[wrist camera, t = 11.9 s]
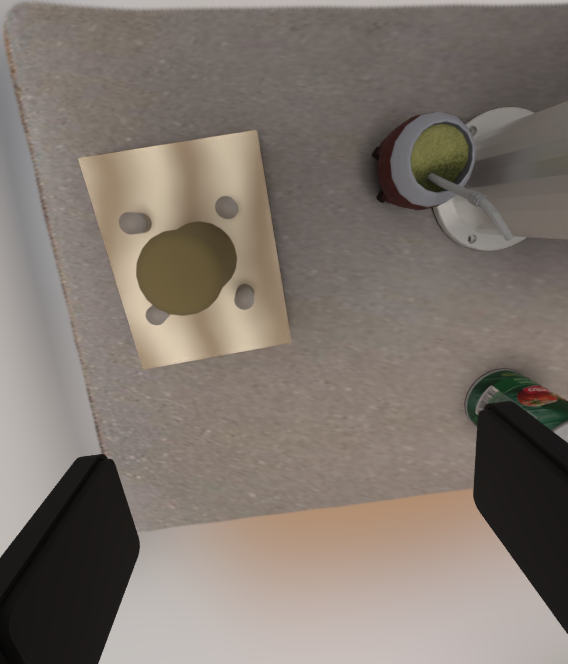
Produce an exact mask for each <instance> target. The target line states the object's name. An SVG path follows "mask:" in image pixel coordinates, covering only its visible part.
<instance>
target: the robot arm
mask: <svg viewBox="0 0 568 664" xmlns="http://www.w3.org/2000/svg"><path fill="white" fill-rule="evenodd" d="M465 125H466V126H467V127H468V128H469V130H470V132H471V135H472V137H473V139H474V142H475V163H474V166H473V170H472V173H471V176H470V179H469V180H468V182H467V183H466V184H465V186H464V188H466V189H468V190H471V191H478V192H480V193H482V194H484V195H486V196H487V199H488V201H490V202H491V204H492V205H493V206H494V207H495V208H496V210H497V211H498V212H499V214H500V215H501V217H502V219H503V220H504V222H505V224H506V225H507V227H508V228H509V230H510V232H511V233H512V235H513V236H514V239H511V240H509V241H506V240H505V239H504V237H503V236H502V234H501V233H500V232H499V230H498V229H497V227H496V226H495V224H494V223H493V222H492V220H491V219H490V217H489V216H488V215H487V214H486V213H485V212H484V210H483V209H482V208H481V207H475V206H474V205H472V204H471V203H469V201H468V200H467V199H465V198H463V197H461V196H459V195H456V196H454V197H453V198H451V199H450V200H448V201H447V202H445V203H444V204H441V205H439V206H436V207H433V211H434V213H435V216H436V219H437V221H438V223H439V225H440V226H441V228H442V229H443V231H444V232H445V233H446V234H447V235H448V236H449V237H450V238H451V239H452V240H453V241H455V242H456V243H458V244H460V245H461V246H464V247H467V248H470V249H475V250H481V251H494V250H500V249H505V248H507V247H510V246H513V245H515V244H517V243H519V242H520V241H522V240H524V239H526V238H527V237H532V238H549V239H565V240H568V101H565V102H563V103H560V104H557V105H555V106H552V107H550V108H547V109H544V110H542V111H539V112H536V113H534V112H532V111H530V110H528V109H524V108H518V107H501V108H497V109H494V110H490V111H487V112H485V113H483V114H481V115H478V116H476V117H475V118H473V119H472V120H470V121H468V122H467V123H465ZM468 237H469V240H468ZM473 492H474V493H473V497H474V501H475V504H476V506H477V508H478V510H479V511H480V513H481V514H482V516H483V517H484V519H485V520H486V521H487V523H488V524H489V526H490V527H491V528H492V530H493V531H494V532H495V534H496V535H497V537H498V538H499V539H500V541H501V542H502V543H503V545H504V546H505V548H506V549H507V550H508V552H509V553H510V555H511V556H512V558H513V559H514V560H515V561H516V563H517V564H518V566H519V567H520V569H521V570H522V571H523V573H524V574H525V575H526V577H527V578H528V580H529V581H530V582H531V584H532V585H533V587H534V588H535V589H536V591H537V592H538V593H539V595H540V596H541V598H542V599H543V600H544V602H545V603H546V605H547V606H548V607H549V609H550V610H551V612H552V613H553V614H554V616H555V617H556V618H557V620H558V621H559V623H560V624H561V626H562V627H563V628H564V630H565V631H566V633H567V634H568V443H567V442H566V441H565V440H564V439H562V438H561V437H560V436H558V435H557V434H556V433H554V432H553V431H552V430H550V429H549V428H548V427H546V426H545V425H544V424H542V423H541V422H540V421H538V420H537V419H536V418H534V417H533V416H532V415H530V414H529V413H528V412H526V411H525V410H524V409H523V408H521V407H520V406H519V405H517V404H516V403H514V402H512V401H503V402H496V403H488V404H486V405H485V407H484V410H481V411H480V412H479V413H478V424H477V441H476V457H475V474H474V490H473ZM139 549H140V543H139V537H138V535H137V531H136V528H135V525H134V522H133V518H132V515H131V512H130V509H129V506H128V503H127V500H126V497H125V494H124V490H123V487H122V484H121V481H120V478H119V475H118V472H117V469H116V466H115V463H114V461H113V460H112V459H108V458H107V457H106V456H105V455H104V454H99V455H91V456H84V457H79V458H77V459H76V460H75V461H74V463H73V464H72V465H71V467H70V468H69V469H68V471H67V472H66V473H65V475H64V476H63V477H62V478H61V480H60V481H59V483H57V485H56V486H55V488H54V489H53V490H52V491H51V493H50V494H49V495H48V496H47V498H46V499H45V501H44V502H43V503H42V504H41V506H40V507H39V508H38V510H37V511H36V512H35V513H34V515H33V516H32V517H31V519H30V520H29V521H28V522H27V524H26V525H25V526H24V528H23V529H22V530H21V532H20V533H19V534H18V535H17V537H16V538H15V539H14V541H13V542H12V543H11V545H10V546H9V547H8V549H7V550H6V551H5V552H4V554H3V555H2V556H1V558H0V664H98V663H99V660H100V657H101V655H102V652H103V649H104V647H105V644H106V641H107V638H108V636H109V633H110V630H111V628H112V625H113V622H114V620H115V617H116V614H117V611H118V609H119V606H120V603H121V601H122V598H123V595H124V593H125V590H126V587H127V585H128V582H129V579H130V576H131V574H132V571H133V568H134V565H135V563H136V560H137V558H138V554H139Z"/></svg>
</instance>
